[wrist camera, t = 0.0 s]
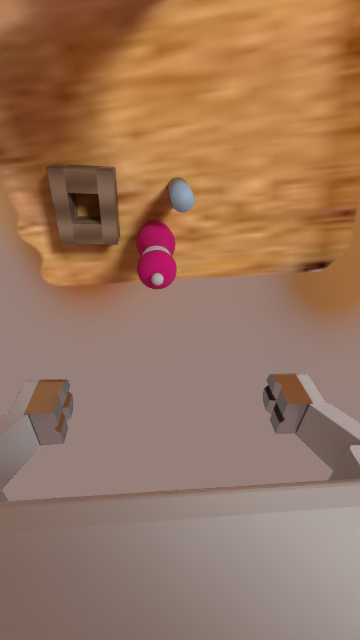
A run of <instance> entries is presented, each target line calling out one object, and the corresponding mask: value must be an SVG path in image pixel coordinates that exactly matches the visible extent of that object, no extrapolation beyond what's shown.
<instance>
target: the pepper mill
mask: <svg viewBox="0 0 360 640" xmlns="http://www.w3.org/2000/svg"><path fill="white" fill-rule="evenodd" d="M136 244H137V250H138V252H139V254H140V256H141V258H140V260H139V262H138V266H137V272H138V276H139V278H140V280H141V281H142V283H143V284H144V285H146V286H147V287H149V288H152V289H162V288H165V287H167V286H168V285H170V284H171V283H172V282H173V280H174V278H175V276H176V270H177V269H176V263H175V261H174V259H173V257H172V255H173V253H174V250H175V238H174V236H173V234H172V232H171V231H170V229H169V228H168V226H167V225H166V224H164V223H162V222H160V221H151V222H148V223H146V224H145V225H144V226H143V227H142V229H141V231H140V233H139V234H138V237H137V243H136Z"/></svg>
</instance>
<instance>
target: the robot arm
mask: <svg viewBox="0 0 360 640" xmlns="http://www.w3.org/2000/svg"><path fill="white" fill-rule="evenodd" d="M267 382H268V386H266V387H265V388H264V391H263V403H264V406H265V409H266V411H267V412H269V413H270V414H271V418H270V421H271V424H272V426H273V428H274V431H275V433H276V434H283V433H286V434H287V433H296V435H297V436H298V437H299V438H300V439H301V440H302V441H303V442H304V443H305V444H306V445H307V446H308V447H309V448H310V449H311V450H312V451H313V452H314V453H315V454H316V455H317V456H318V457H320V458H321V459H322V460H323V461H324V462H325V463H326V464H327V465H328V466H329V467H330V468H331V469H332V470H333V473H332V474H331V476H330V477H329V479H328V480H327V481H311V482H296V483H282V484H267V485H266V484H265V485H251V486H235V487H219V488H204V489H188V490H174V491H159V492H145V493H144V492H143V493H130V494H129V493H128V494H113V495H99V496H81V497H66V498H51V499H35V500H20V501H8V499H7V497H6V496H5V494H4V493H3V491H2V489H3V487H4V486H5V485H6V484H7V483H8V482H9V481H10V480H11V479H12V478H13V476H14V475H15V474H16V473H17V472H18V471H19V470H20V469H21V467H22V466H23V465H24V464H25V463H26V462H27V461H28V460H29V459H30V458H31V456H32V455H33V454H34V453H35V452H36V451H37V450H38V449H39V448H40V445H52V444H64V441H65V437H66V434H67V430H68V426H67V421H68V420H69V419H70V418H71V415H72V412H73V396H72V394H71V393H70V392H69V388H70V384H69V381H68V380H26V381H25V382H24V383H23V385H22V387H21V389H20V391H19V393H18V395H17V397H16V400H15V401H14V403H13V405H12V407H11V409H10V411H9V413H8V415H3V416H2V417H0V640H360V423H358V422H357V421H355V420H354V419H352V418H351V417H349V416H348V415H346V414H345V413H343V412H342V411H340V410H339V409H337V408H336V407H334V406H333V405H331V404H330V403H327V404H326V403H325V401H324V400H323V398H322V396H321V395H320V393H319V392H318V390H317V389H316V387H315V386H314V384H313V382H312V381H311V379H310V378H309V376H308V375H307V374H306V373H293V374H291V373H289V374H270V375H269V376H268V378H267Z"/></svg>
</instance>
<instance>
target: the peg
mask: <svg viewBox="0 0 360 640" xmlns="http://www.w3.org/2000/svg"><path fill="white" fill-rule="evenodd" d="M168 192H169V196H170V200H171V203H172V206H173V208H174V209H175V210H177V211H179V212H186V211H188V210H190V209H191V208H192V206H193V204H194V195H193V193H192V191H191V190H190V188H189V186H188V185H187V183H186V182H185V180H184V179H182V178H179V177H177V178H174V179H172V180H171V181H170V182H169V185H168Z"/></svg>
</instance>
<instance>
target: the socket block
mask: <svg viewBox="0 0 360 640" xmlns="http://www.w3.org/2000/svg"><path fill="white" fill-rule="evenodd" d="M46 169H47V174H48V179H49V185H50V190H51V195H52V200H53V205H54V211H55V216H56V221H57V226H58V232H59V237H60V242H61V243H63V244H113V245H118V241H119V238H120V228H119V213H118V199H117V185H116V170H115V167H104V166H83V165H61V164H55V165H52V166H49V167H47V168H46ZM75 193H87V194H98V196H99V205H100V215H101V217H82V216H78V212H77V205H76V199H75Z"/></svg>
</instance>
